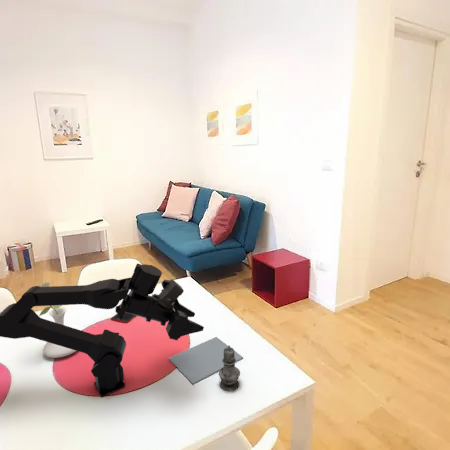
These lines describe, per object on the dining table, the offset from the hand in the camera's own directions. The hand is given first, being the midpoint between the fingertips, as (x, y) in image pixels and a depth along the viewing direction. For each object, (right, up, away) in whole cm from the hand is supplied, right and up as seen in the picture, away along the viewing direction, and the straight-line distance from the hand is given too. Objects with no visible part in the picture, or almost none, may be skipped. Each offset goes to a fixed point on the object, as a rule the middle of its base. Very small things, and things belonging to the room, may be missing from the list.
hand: (198, 321), depth 92 cm
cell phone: (-30, -8, +37) cm, 48 cm away
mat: (+1, -14, +8) cm, 16 cm away
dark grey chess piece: (+9, -17, -2) cm, 19 cm away
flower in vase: (-45, -14, +13) cm, 49 cm away
